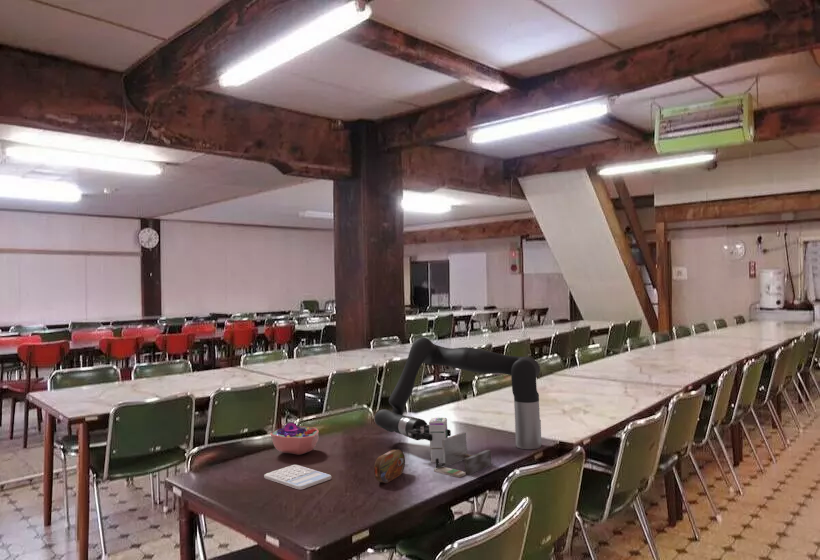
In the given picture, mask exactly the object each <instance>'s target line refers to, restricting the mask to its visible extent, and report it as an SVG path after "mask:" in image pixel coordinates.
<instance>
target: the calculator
mask: <svg viewBox="0 0 820 560" xmlns="http://www.w3.org/2000/svg"><path fill="white" fill-rule="evenodd" d="M263 476H264V477H263V478H264V479H265V480H268V481H271V482H275V483H277V484H281V485H283V486H286V487H290V488H292V489H295V490H305V489H308V488H310V487H313V486H316V485H319V484H321V483H324V482H327V481H330V480H332V475H331V474H328V473H325V472H322V471H319V470H316V469H312V468H309V467H305V466H303V465H299V464H291V465H289V466H285V467H282V468H279V469H276V470H272V471H270V472H267V473H264V475H263Z"/></svg>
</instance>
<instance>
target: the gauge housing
mask: <svg viewBox="0 0 820 560" xmlns="http://www.w3.org/2000/svg"><path fill="white" fill-rule="evenodd" d="M463 460H464V471H463V470H458V469H455V468H450V467H447V466H446V467H444V466H442V467H440V468H436V467H434V468H433V472H435V473H438V474H442V475H446V476H447V475H448V476H450V477H451V476H452V477H455V478H461V477H463V476H466V475H467V476H470V475H472V474H475V473H476V471H477V472H478V471H479V472H480V471H482V470H484V469H485V468H488V467H490V466H492V450H491V449H485V450H483V451H479V452H478V453H475V454H469V453H467V458H465V459H463ZM483 468H484V469H483ZM474 472H475V473H474Z"/></svg>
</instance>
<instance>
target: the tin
mask: <svg viewBox="0 0 820 560" xmlns="http://www.w3.org/2000/svg"><path fill="white" fill-rule="evenodd" d="M405 466H406V458H405V454H404V452H403V451H402V450H401V449H391V450H389V451H387V452H386V453H384V454H382V455H379V456H378V457H377V458H376V459H375V462H374V466H373V469H374V471H373V472H374V478H375V480H376V481H377V482H378V483H383V484H388V483H390V482H391V481H393V480H395V479H397V478H398V477H400V476H401V475H402V473H403V472H404V471H405Z"/></svg>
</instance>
